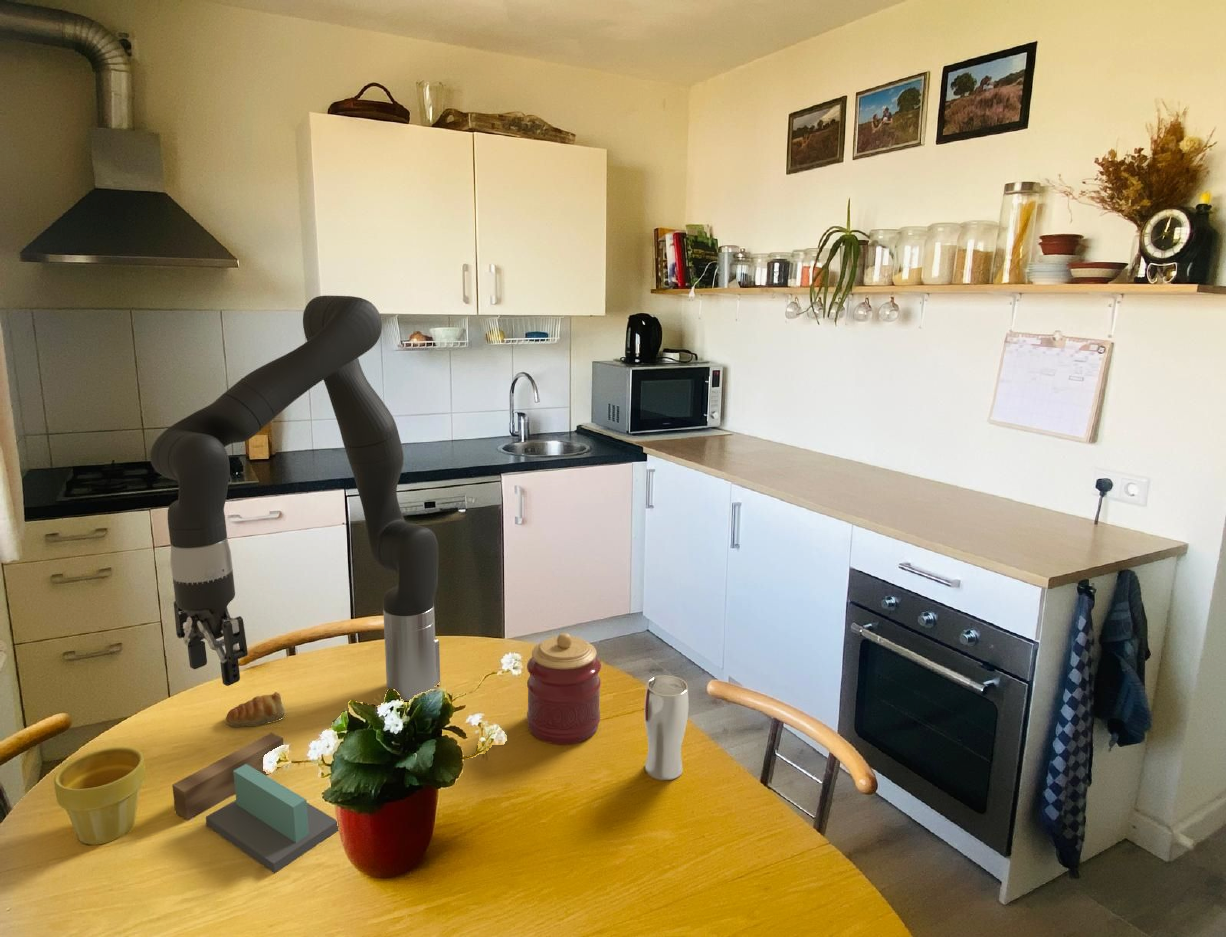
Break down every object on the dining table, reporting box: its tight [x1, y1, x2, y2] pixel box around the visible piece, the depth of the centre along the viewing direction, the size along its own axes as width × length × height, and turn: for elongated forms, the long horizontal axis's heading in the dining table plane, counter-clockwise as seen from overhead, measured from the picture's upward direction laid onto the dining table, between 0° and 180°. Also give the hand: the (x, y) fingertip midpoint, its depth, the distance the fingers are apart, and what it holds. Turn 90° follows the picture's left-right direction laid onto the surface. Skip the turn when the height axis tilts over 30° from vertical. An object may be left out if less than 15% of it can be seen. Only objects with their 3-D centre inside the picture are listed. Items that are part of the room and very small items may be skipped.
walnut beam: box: [171, 732, 285, 822], centre depth 116 cm, size 16×3×5 cm, turn 149°
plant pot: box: [53, 746, 146, 846], centre depth 106 cm, size 10×10×10 cm
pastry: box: [225, 691, 285, 728], centre depth 135 cm, size 9×7×4 cm
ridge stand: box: [205, 764, 339, 874], centre depth 107 cm, size 10×16×7 cm, turn 57°
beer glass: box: [644, 674, 689, 781], centre depth 122 cm, size 7×7×15 cm
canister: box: [526, 632, 602, 745], centre depth 133 cm, size 13×13×18 cm
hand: (214, 674), depth 111 cm, fingers open, 8 cm apart
